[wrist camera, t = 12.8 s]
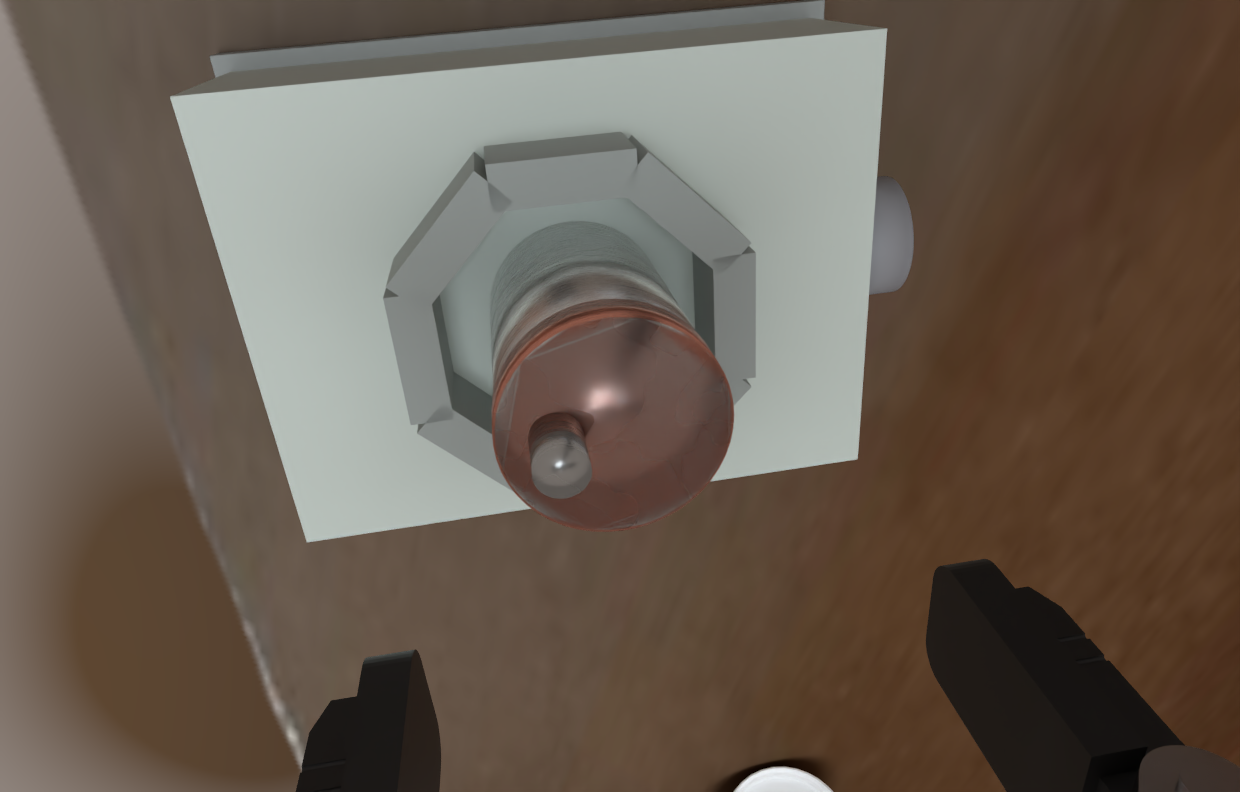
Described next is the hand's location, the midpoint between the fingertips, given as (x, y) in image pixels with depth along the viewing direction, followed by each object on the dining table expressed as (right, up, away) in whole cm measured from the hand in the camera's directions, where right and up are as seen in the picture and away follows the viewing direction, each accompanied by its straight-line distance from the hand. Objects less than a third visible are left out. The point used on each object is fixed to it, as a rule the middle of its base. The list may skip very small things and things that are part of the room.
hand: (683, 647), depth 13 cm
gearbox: (-4, +10, +19) cm, 21 cm away
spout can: (-2, +7, +12) cm, 14 cm away
